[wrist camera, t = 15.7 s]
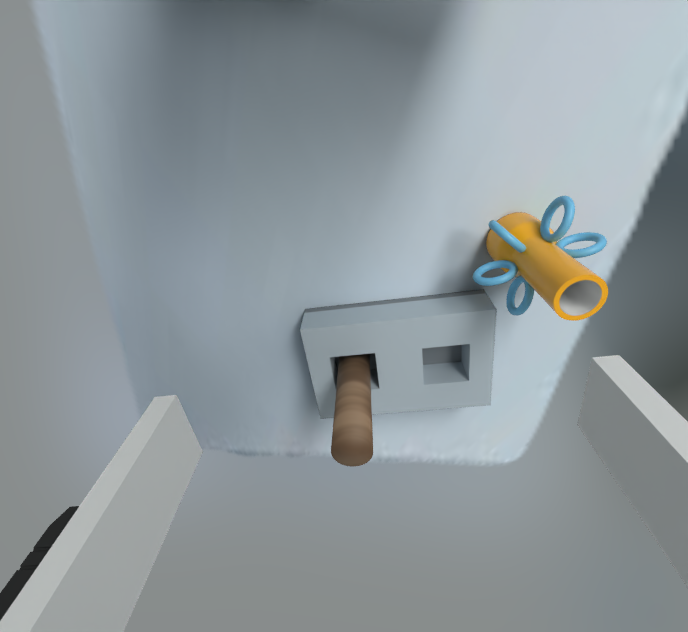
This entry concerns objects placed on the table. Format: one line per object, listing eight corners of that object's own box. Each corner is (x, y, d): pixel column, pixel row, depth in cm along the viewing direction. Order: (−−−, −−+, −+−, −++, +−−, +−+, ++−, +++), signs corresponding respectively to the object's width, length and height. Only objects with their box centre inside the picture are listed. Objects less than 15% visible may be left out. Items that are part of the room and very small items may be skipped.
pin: (337, 343, 49) (328, 438, 35) (368, 340, 49) (370, 435, 35) (341, 368, 51) (334, 467, 37) (371, 365, 51) (374, 465, 37)
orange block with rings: (468, 294, 46) (512, 370, 33) (447, 215, 42) (488, 266, 29) (574, 260, 44) (666, 328, 31) (564, 172, 39) (667, 207, 26)
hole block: (305, 309, 48) (299, 329, 44) (483, 289, 46) (496, 309, 42) (323, 393, 55) (320, 418, 50) (479, 380, 53) (490, 405, 48)
